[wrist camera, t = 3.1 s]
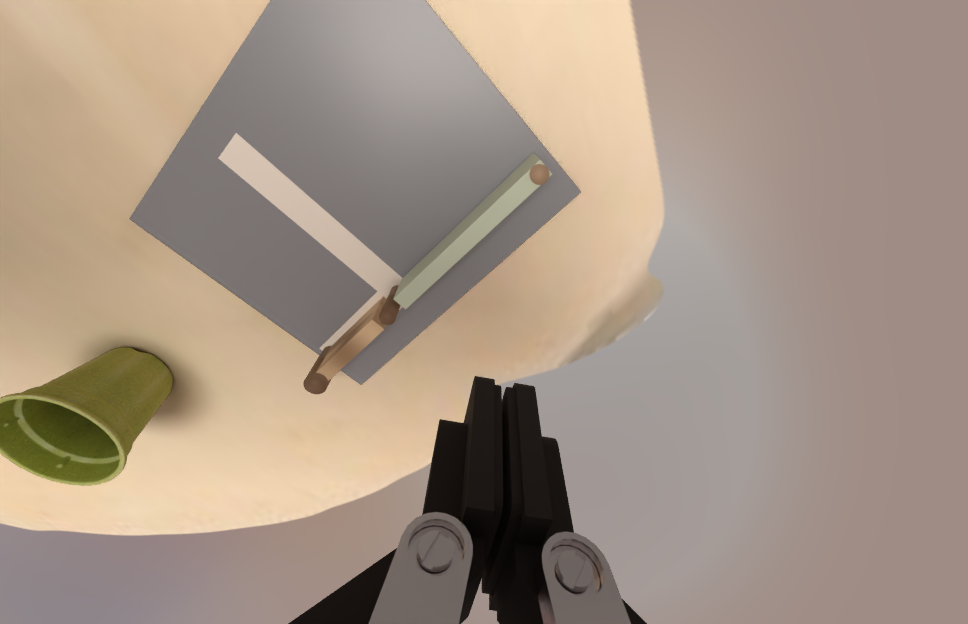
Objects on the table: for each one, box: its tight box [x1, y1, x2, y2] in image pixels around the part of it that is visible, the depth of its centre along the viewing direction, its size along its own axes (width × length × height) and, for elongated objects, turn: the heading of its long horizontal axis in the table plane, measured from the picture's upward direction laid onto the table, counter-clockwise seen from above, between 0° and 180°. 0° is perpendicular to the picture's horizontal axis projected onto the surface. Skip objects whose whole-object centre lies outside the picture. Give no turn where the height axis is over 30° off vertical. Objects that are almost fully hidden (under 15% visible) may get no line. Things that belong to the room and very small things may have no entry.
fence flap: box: [393, 152, 552, 309], centre depth 29 cm, size 14×1×4 cm, turn 133°
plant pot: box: [0, 347, 173, 486], centre depth 34 cm, size 9×9×9 cm
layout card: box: [130, 0, 581, 385], centre depth 30 cm, size 26×22×1 cm
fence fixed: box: [304, 285, 401, 394], centre depth 33 cm, size 10×2×5 cm, turn 134°
